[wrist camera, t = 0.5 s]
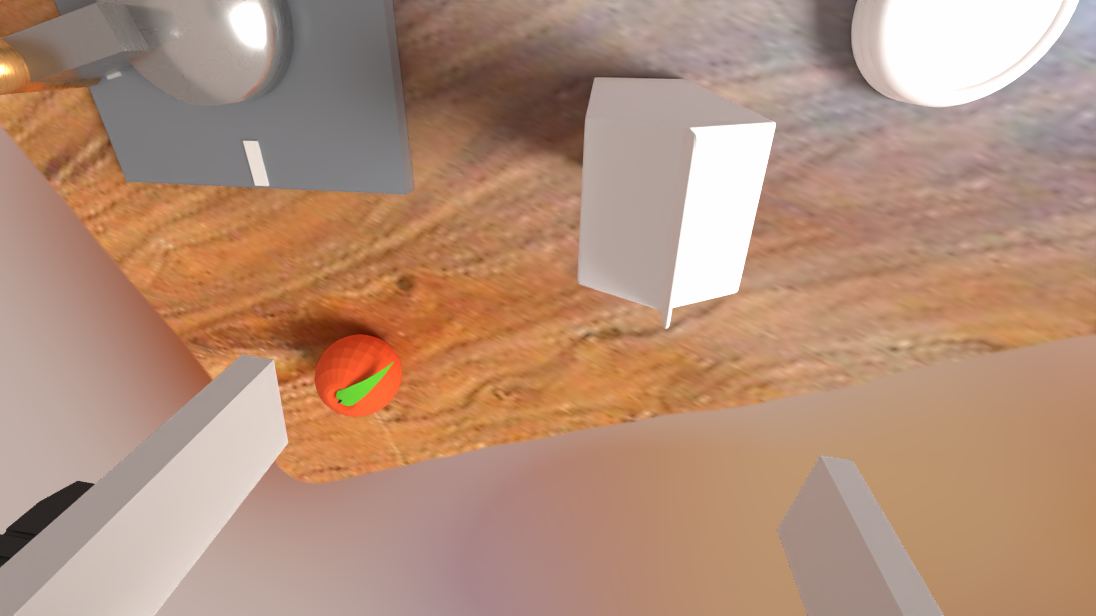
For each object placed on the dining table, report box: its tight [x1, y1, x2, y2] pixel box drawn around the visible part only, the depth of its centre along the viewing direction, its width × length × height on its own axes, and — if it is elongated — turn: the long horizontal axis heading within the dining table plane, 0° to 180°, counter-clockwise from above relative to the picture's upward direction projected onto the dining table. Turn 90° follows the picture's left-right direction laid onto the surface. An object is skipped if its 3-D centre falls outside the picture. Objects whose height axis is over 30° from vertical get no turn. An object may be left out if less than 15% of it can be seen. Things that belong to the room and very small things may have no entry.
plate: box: [54, 0, 414, 194], centre depth 32 cm, size 22×22×2 cm
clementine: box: [314, 334, 402, 416], centre depth 41 cm, size 8×7×7 cm
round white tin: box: [851, 0, 1079, 107], centre depth 27 cm, size 10×10×4 cm
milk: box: [578, 77, 776, 328], centre depth 24 cm, size 6×6×22 cm
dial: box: [0, 0, 294, 106], centre depth 28 cm, size 18×10×7 cm, turn 104°
